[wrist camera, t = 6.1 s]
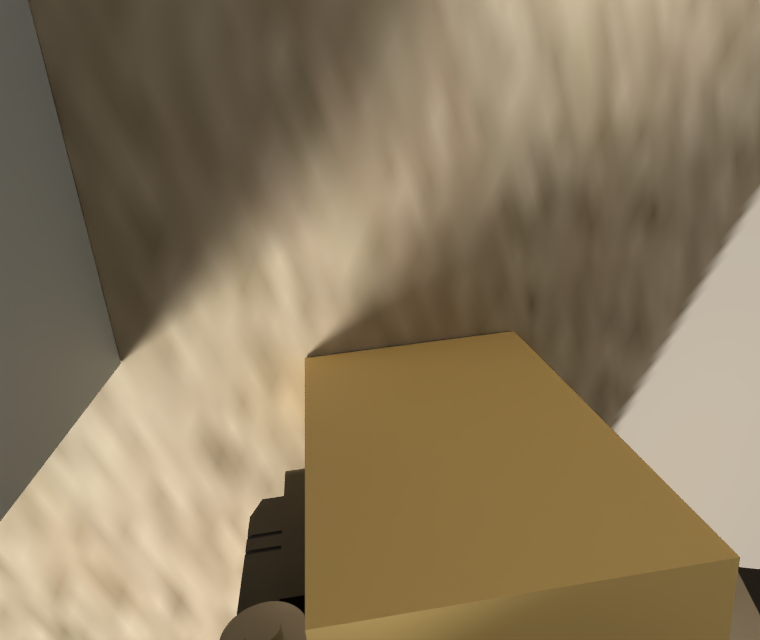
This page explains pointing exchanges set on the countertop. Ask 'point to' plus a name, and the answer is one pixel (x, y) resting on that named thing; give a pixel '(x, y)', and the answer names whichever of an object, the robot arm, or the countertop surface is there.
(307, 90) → the countertop surface
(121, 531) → the countertop surface
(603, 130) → the countertop surface
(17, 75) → the block
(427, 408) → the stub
